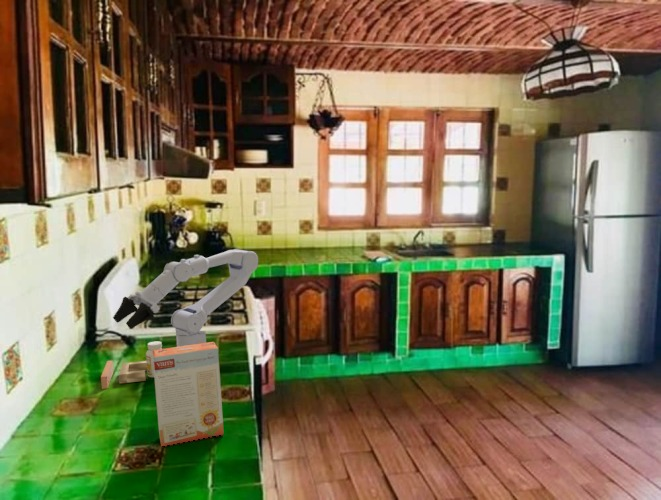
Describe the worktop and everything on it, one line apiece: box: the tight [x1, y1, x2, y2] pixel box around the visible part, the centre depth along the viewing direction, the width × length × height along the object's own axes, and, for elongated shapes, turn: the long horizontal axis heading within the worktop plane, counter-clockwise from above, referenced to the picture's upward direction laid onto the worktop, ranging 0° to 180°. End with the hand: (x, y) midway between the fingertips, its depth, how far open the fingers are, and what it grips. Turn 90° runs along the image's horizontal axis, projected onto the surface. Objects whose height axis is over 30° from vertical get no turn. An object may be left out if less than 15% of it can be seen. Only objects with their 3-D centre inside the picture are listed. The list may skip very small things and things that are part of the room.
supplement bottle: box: [145, 340, 163, 378], centre depth 170 cm, size 5×5×10 cm
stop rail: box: [100, 360, 115, 390], centre depth 167 cm, size 2×14×4 cm, turn 14°
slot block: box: [118, 360, 147, 384], centre depth 169 cm, size 7×10×3 cm
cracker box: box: [152, 341, 225, 448], centre depth 129 cm, size 14×6×21 cm, turn 110°
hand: (121, 323), depth 166 cm, fingers open, 7 cm apart
